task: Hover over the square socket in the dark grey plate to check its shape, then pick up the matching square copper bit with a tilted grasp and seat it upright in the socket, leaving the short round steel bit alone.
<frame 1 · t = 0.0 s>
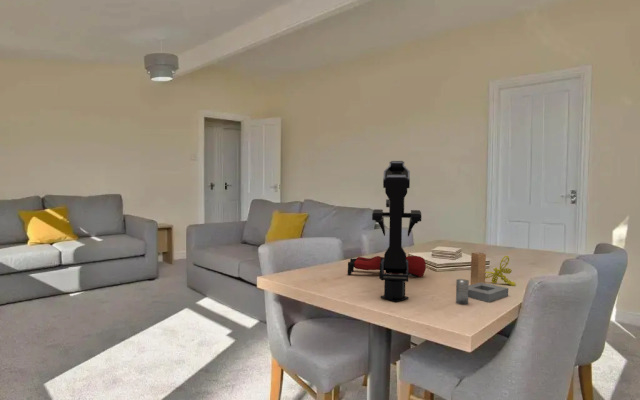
hand: (396, 235, 171), 15 cm above the table, tool pointing down, fingers open, 9 cm apart
socket plate: (484, 295, 142), on the table
decorative insect: (496, 283, 159), on the table
square bit: (477, 286, 153), on the table
toy: (386, 276, 171), on the table
round bit: (461, 302, 134), on the table
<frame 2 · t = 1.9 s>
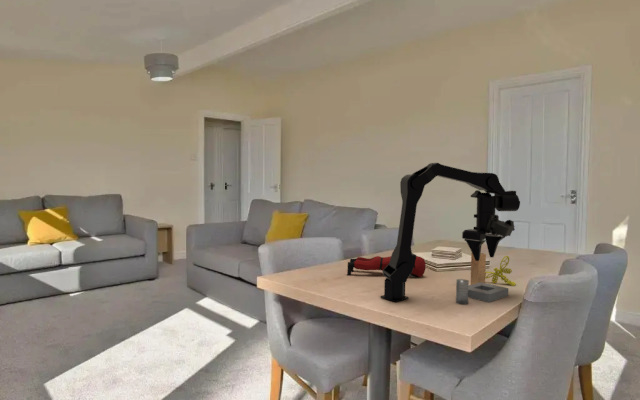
hand: (484, 258, 142), 12 cm above the table, tool pointing down, fingers open, 9 cm apart
nothing on the table moved.
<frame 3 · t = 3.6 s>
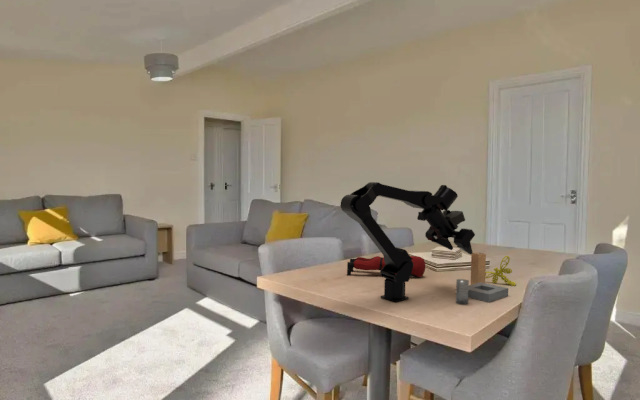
hand: (461, 251, 149), 13 cm above the table, tool tilted 45°, fingers open, 9 cm apart
nothing on the table moved.
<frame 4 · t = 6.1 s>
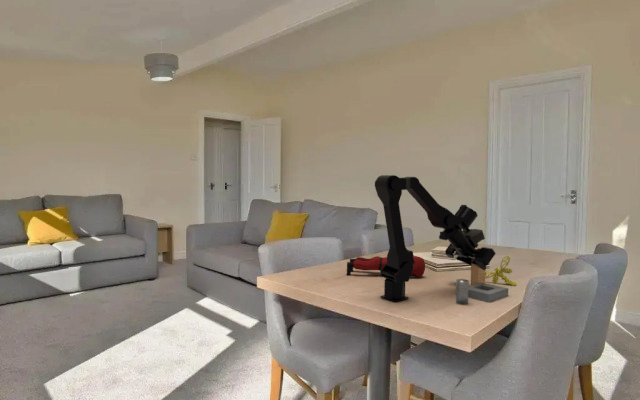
hand: (481, 268, 153), 7 cm above the table, tool tilted 45°, fingers closed on square bit, 3 cm apart
square bit: (477, 286, 153), on the table, touching gripper
everything else where it was.
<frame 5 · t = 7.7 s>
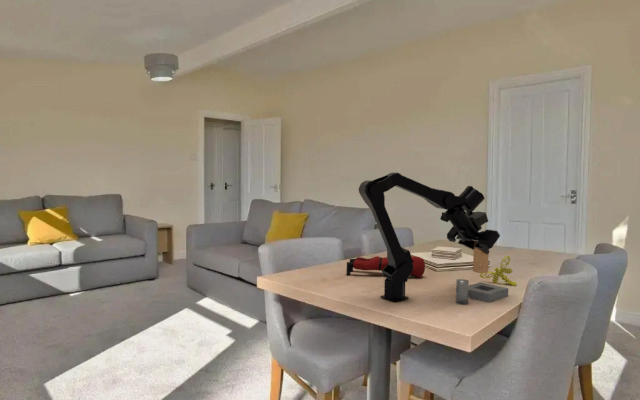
hand: (483, 252, 148), 13 cm above the table, tool tilted 45°, fingers closed on square bit, 3 cm apart
square bit: (480, 271, 147), point 7 cm above the table, touching gripper
everything else where it was.
when the fingers open (9 cm above the table, at t = 9.2 s): square bit drops 2 cm, resting in socket plate.
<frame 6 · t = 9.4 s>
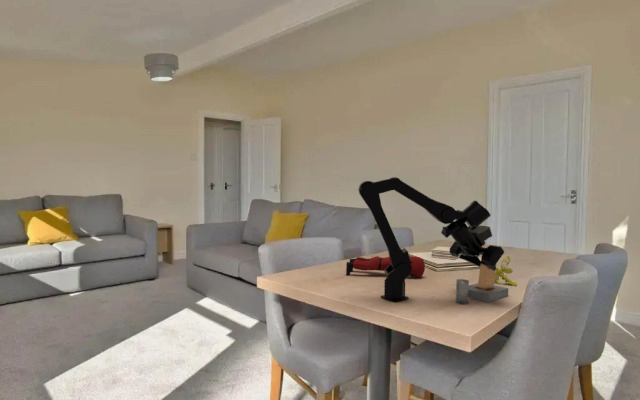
hand: (488, 267, 142), 9 cm above the table, tool tilted 45°, fingers open, 5 cm apart
square bit: (484, 294, 142), resting in socket plate, tilted 7°
everything else where it was.
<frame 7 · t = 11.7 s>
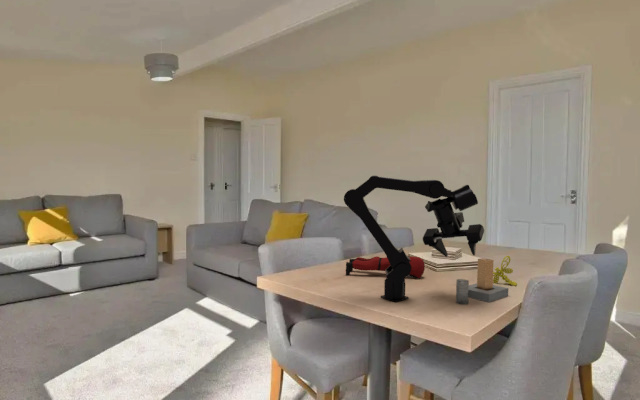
hand: (460, 255, 141), 13 cm above the table, tool tilted 30°, fingers open, 9 cm apart
square bit: (484, 295, 142), resting in socket plate
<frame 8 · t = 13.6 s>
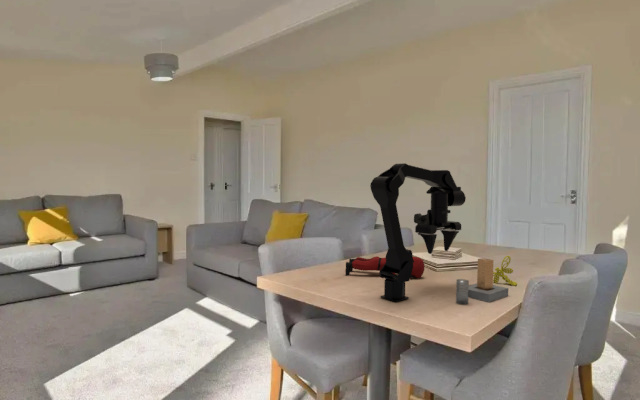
hand: (438, 252, 148), 13 cm above the table, tool pointing down, fingers open, 9 cm apart
at the end: square bit 0.1 cm off-centre on the socket plate, point 0.0 cm above the socket plate's base; square bit tilted 0°; the gripper is holding nothing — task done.
